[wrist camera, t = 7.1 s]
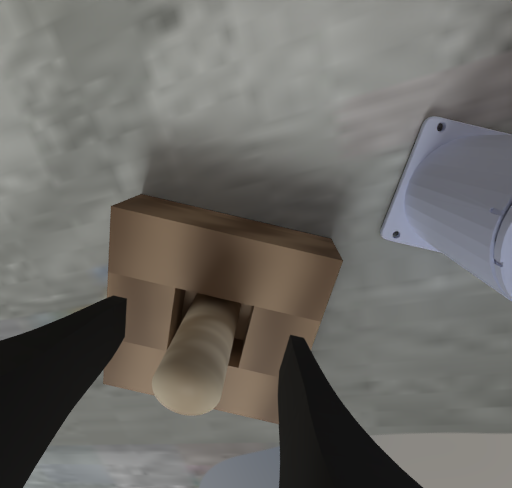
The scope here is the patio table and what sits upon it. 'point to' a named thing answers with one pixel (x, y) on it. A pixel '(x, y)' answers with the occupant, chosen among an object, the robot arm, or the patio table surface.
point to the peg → (198, 357)
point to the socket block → (215, 292)
